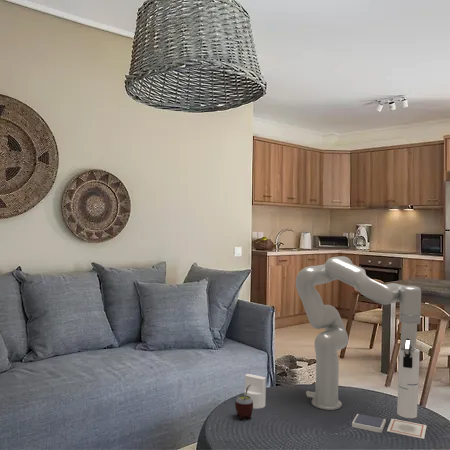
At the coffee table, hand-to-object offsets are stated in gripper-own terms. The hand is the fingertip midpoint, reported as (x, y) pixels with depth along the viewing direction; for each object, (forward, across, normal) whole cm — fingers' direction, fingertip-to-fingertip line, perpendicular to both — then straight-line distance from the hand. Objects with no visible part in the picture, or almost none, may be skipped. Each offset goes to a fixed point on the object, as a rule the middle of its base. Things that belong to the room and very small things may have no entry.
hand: (408, 364), depth 186 cm
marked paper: (+25, 0, 0) cm, 25 cm away
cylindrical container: (+19, 0, 0) cm, 19 cm away
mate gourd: (+25, +22, -58) cm, 67 cm away
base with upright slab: (+25, +6, -60) cm, 66 cm away
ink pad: (+25, +4, -14) cm, 28 cm away
